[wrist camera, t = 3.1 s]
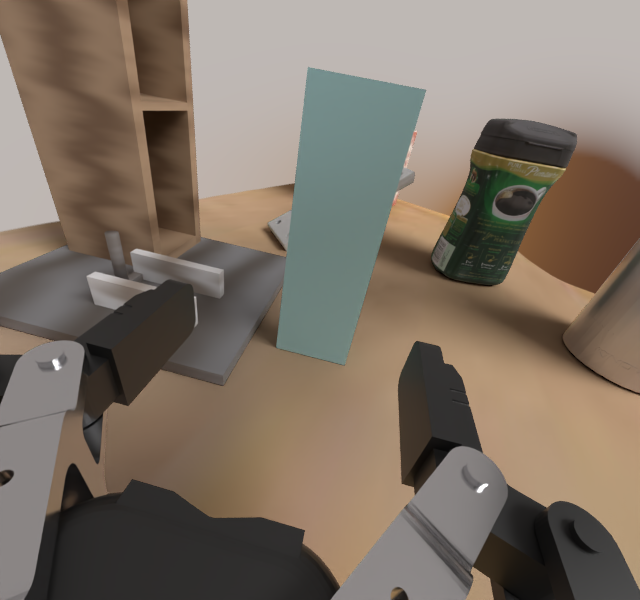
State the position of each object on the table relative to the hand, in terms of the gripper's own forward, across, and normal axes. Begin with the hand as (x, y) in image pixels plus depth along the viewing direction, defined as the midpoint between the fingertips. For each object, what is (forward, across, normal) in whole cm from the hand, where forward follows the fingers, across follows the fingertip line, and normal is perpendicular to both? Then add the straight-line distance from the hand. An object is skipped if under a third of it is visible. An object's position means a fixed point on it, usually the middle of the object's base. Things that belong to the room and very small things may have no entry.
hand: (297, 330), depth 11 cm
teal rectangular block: (+10, 0, +10) cm, 14 cm away
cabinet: (+14, +16, +10) cm, 23 cm away
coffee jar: (+33, -17, +10) cm, 39 cm away
